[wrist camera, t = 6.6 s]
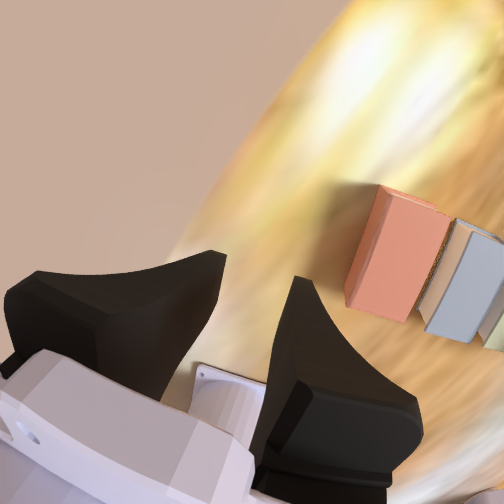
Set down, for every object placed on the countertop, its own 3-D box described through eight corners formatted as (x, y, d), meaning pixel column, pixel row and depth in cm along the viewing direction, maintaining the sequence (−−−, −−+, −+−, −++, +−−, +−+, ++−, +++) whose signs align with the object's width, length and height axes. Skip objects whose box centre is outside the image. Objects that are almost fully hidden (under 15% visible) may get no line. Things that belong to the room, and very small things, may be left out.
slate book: (457, 320, 20) (469, 343, 17) (415, 308, 20) (424, 332, 18) (498, 236, 17) (518, 252, 14) (455, 217, 17) (473, 231, 15)
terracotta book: (379, 184, 18) (388, 193, 15) (435, 204, 18) (451, 217, 15) (343, 283, 21) (345, 306, 18) (396, 298, 20) (404, 322, 18)
